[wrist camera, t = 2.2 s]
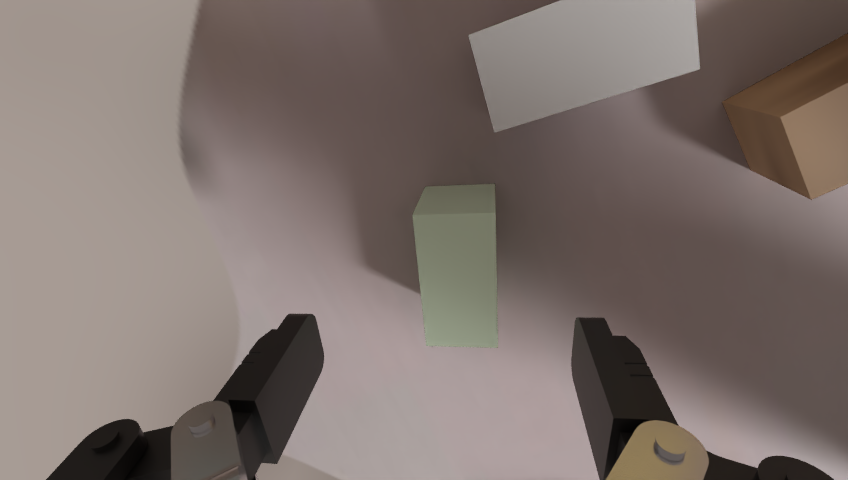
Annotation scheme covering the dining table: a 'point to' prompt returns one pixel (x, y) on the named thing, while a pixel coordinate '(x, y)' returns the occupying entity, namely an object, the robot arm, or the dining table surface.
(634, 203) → the dining table surface
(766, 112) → the walnut brick
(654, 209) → the dining table surface
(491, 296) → the sage brick
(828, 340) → the dining table surface
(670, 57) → the grey brick
